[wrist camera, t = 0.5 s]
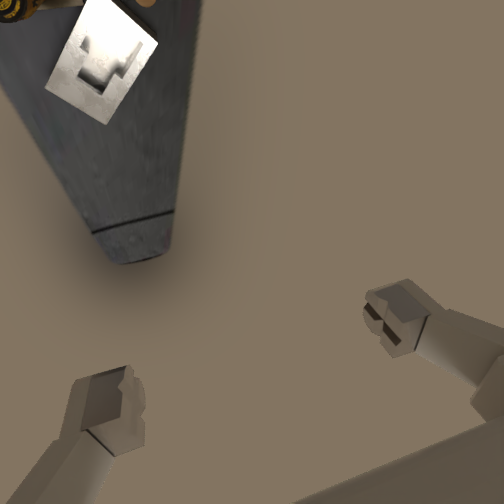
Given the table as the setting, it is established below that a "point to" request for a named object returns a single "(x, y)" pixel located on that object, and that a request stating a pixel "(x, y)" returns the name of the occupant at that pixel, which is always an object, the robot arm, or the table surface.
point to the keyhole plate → (102, 58)
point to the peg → (146, 2)
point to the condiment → (30, 8)
